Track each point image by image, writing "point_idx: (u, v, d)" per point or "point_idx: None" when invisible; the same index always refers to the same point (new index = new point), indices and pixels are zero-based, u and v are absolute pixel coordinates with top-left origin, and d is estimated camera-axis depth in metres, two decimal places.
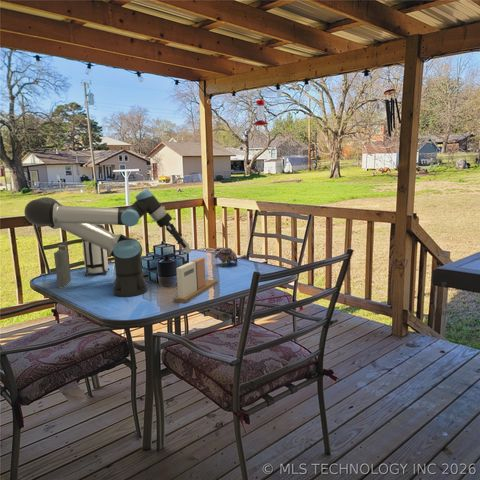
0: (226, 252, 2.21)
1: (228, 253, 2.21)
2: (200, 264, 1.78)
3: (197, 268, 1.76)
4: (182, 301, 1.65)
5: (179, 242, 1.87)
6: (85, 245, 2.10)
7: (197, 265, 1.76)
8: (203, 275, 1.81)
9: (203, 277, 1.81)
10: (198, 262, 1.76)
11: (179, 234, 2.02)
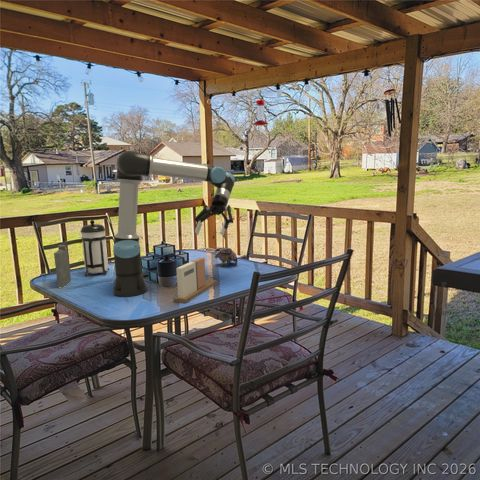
0: (226, 252, 2.21)
1: (228, 253, 2.21)
2: (200, 264, 1.78)
3: (197, 268, 1.76)
4: (182, 301, 1.65)
5: (231, 220, 1.86)
6: (85, 245, 2.10)
7: (197, 265, 1.76)
8: (203, 275, 1.81)
9: (203, 277, 1.81)
10: (198, 262, 1.76)
11: None
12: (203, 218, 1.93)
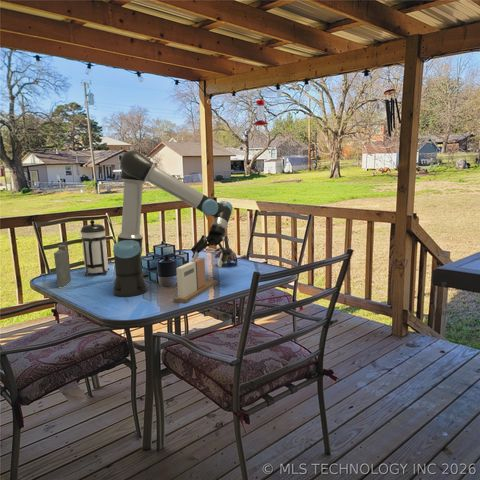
0: None
1: None
2: (200, 264, 1.78)
3: (197, 268, 1.76)
4: (182, 301, 1.65)
5: (228, 252, 1.83)
6: (85, 245, 2.10)
7: (197, 265, 1.76)
8: (203, 275, 1.81)
9: (203, 277, 1.81)
10: (198, 262, 1.76)
11: None
12: (200, 249, 1.90)
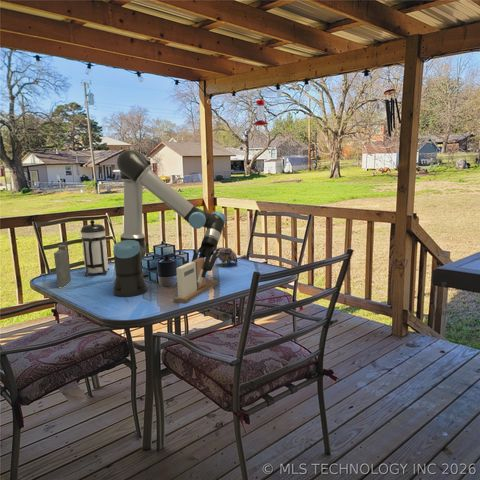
0: (226, 252, 2.21)
1: (228, 253, 2.21)
2: (200, 264, 1.78)
3: (197, 268, 1.76)
4: (182, 301, 1.65)
5: (209, 268, 1.79)
6: (85, 245, 2.10)
7: (197, 265, 1.76)
8: None
9: None
10: (198, 262, 1.76)
11: None
12: None
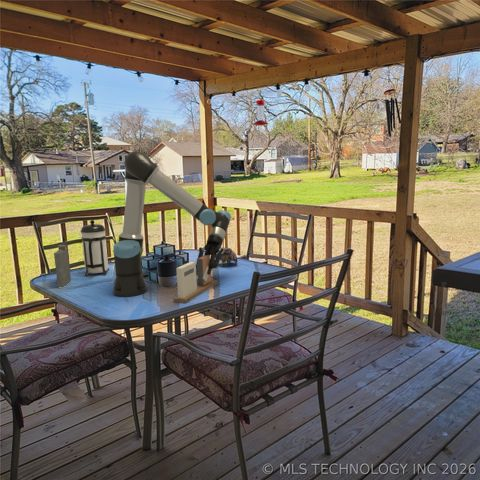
0: (226, 252, 2.21)
1: (228, 253, 2.21)
2: (206, 261, 1.83)
3: (203, 265, 1.81)
4: (182, 301, 1.65)
5: (214, 266, 1.83)
6: (85, 245, 2.10)
7: (203, 262, 1.80)
8: None
9: None
10: (204, 259, 1.81)
11: None
12: None
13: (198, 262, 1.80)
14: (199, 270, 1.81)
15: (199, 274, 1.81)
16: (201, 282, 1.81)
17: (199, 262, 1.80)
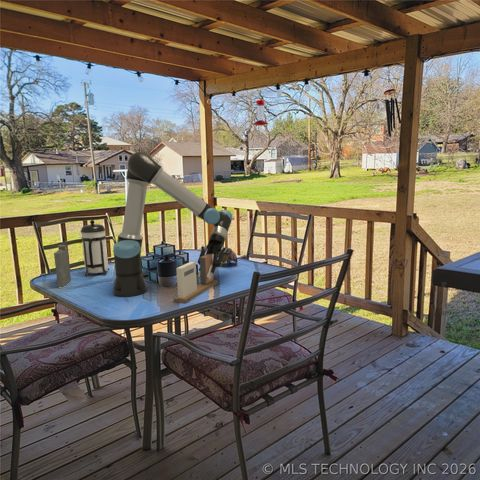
0: (226, 252, 2.21)
1: (228, 253, 2.21)
2: (208, 260, 1.85)
3: (205, 264, 1.83)
4: (182, 301, 1.65)
5: (218, 264, 1.86)
6: (85, 245, 2.10)
7: (205, 261, 1.83)
8: None
9: None
10: (206, 258, 1.84)
11: None
12: None
13: (201, 261, 1.82)
14: (202, 269, 1.83)
15: (202, 273, 1.83)
16: (203, 281, 1.84)
17: (202, 261, 1.82)
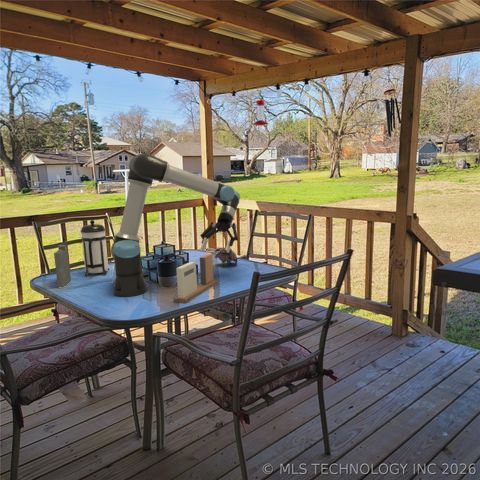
0: (226, 252, 2.21)
1: (228, 253, 2.21)
2: (208, 260, 1.85)
3: (205, 264, 1.83)
4: (182, 301, 1.65)
5: (236, 238, 1.92)
6: (85, 245, 2.10)
7: (205, 261, 1.83)
8: (211, 271, 1.88)
9: (211, 273, 1.89)
10: (206, 258, 1.84)
11: None
12: (209, 235, 1.99)
13: (201, 261, 1.82)
14: (202, 269, 1.83)
15: (202, 273, 1.83)
16: (203, 281, 1.84)
17: (202, 261, 1.82)
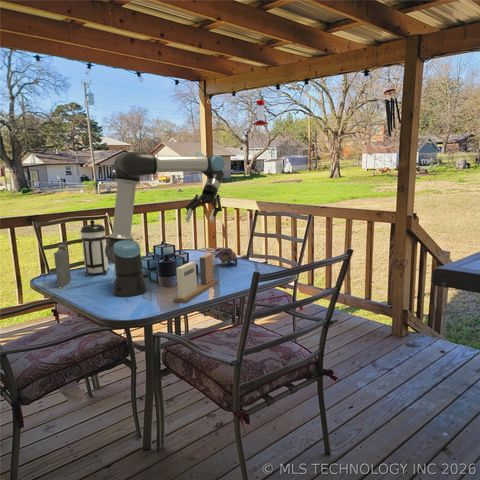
0: (226, 252, 2.21)
1: (228, 253, 2.21)
2: (208, 260, 1.85)
3: (205, 264, 1.83)
4: (182, 301, 1.65)
5: (220, 208, 1.96)
6: (85, 245, 2.10)
7: (205, 261, 1.83)
8: (211, 271, 1.88)
9: (211, 273, 1.89)
10: (206, 258, 1.84)
11: (193, 209, 2.04)
12: (193, 206, 2.03)
13: (201, 261, 1.82)
14: (202, 269, 1.83)
15: (202, 273, 1.83)
16: (203, 281, 1.84)
17: (202, 261, 1.82)
